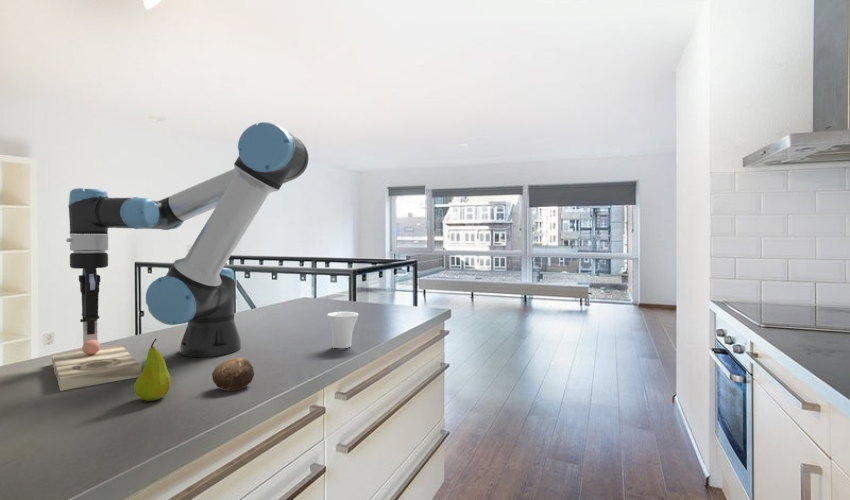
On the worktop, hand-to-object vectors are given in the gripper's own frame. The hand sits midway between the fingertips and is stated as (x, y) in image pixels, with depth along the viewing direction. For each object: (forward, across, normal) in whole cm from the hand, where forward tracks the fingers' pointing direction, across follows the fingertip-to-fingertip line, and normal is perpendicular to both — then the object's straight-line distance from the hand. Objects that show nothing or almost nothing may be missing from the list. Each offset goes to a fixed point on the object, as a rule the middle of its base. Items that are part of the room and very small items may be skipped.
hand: (90, 346), depth 109 cm
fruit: (+4, +38, +6) cm, 39 cm away
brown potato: (+4, +41, +20) cm, 46 cm away
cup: (+4, +27, +56) cm, 62 cm away
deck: (+4, +9, 0) cm, 10 cm away
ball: (0, +3, 0) cm, 3 cm away
